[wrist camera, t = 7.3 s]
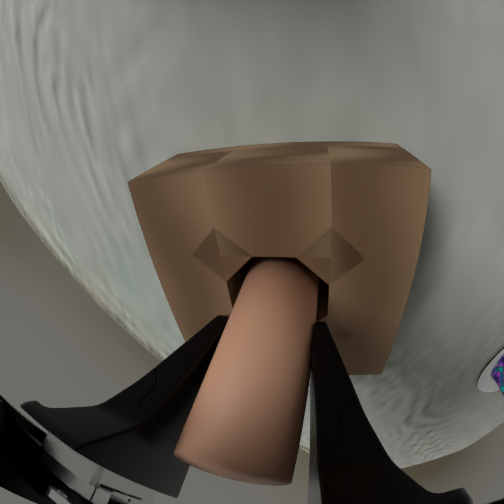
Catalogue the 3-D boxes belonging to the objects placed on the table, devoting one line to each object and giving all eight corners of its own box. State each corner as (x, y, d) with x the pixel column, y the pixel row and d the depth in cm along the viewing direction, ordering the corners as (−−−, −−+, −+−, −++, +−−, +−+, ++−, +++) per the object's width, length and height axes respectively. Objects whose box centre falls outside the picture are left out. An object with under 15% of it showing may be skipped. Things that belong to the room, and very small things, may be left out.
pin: (319, 243, 11) (291, 472, 4) (318, 299, 13) (291, 489, 6) (246, 242, 12) (153, 440, 5) (255, 297, 14) (194, 469, 7)
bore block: (396, 143, 11) (431, 169, 7) (375, 317, 16) (381, 374, 13) (177, 154, 13) (127, 182, 10) (216, 310, 19) (193, 359, 16)
